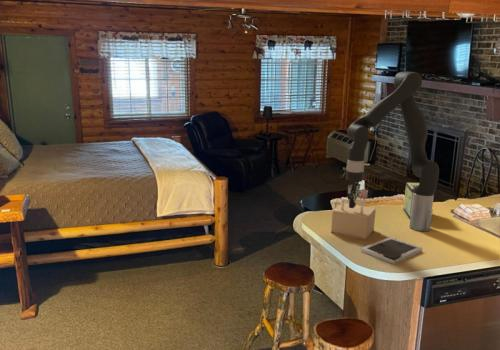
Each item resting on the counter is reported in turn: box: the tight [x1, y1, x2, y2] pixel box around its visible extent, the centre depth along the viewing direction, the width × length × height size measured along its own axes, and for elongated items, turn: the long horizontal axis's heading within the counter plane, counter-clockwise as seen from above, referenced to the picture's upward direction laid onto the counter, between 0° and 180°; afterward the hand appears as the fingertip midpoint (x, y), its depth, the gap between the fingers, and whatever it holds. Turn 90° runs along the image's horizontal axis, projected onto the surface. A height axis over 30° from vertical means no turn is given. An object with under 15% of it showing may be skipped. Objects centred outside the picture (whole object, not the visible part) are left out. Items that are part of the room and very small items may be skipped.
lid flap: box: [332, 196, 377, 218], centre depth 218 cm, size 16×14×7 cm
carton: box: [330, 210, 377, 241], centre depth 220 cm, size 16×14×10 cm
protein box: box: [403, 181, 420, 220], centre depth 245 cm, size 10×16×16 cm
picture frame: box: [360, 236, 423, 265], centre depth 199 cm, size 16×3×21 cm
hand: (352, 207), depth 215 cm, fingers closed on lid flap
